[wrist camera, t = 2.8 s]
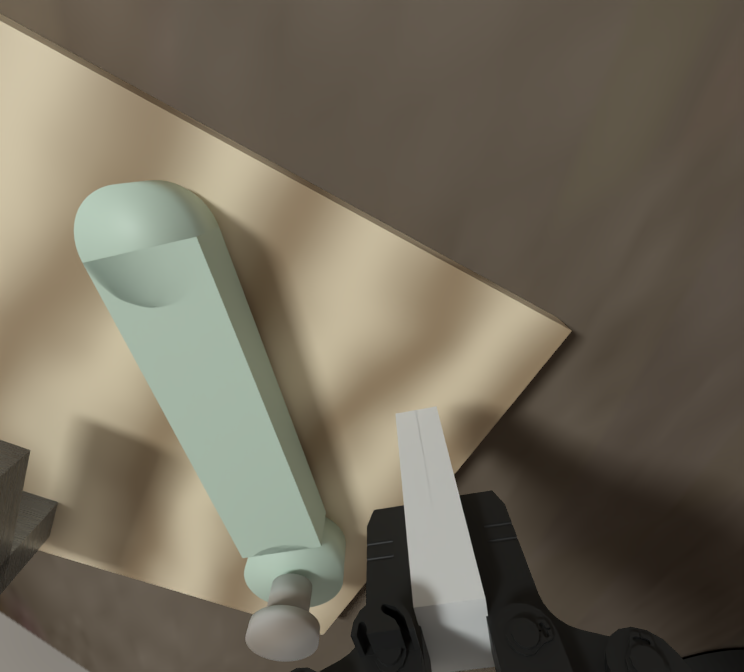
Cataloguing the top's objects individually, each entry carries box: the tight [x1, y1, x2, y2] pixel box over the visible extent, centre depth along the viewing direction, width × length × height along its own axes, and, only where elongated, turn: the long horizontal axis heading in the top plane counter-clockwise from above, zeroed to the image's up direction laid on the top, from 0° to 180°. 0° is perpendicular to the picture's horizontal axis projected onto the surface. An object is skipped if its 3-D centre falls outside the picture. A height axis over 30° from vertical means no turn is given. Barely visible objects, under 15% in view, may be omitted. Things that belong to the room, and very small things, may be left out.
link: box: [74, 180, 346, 607], centre depth 17 cm, size 22×5×2 cm, turn 12°
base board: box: [0, 14, 572, 661], centre depth 17 cm, size 26×25×7 cm
